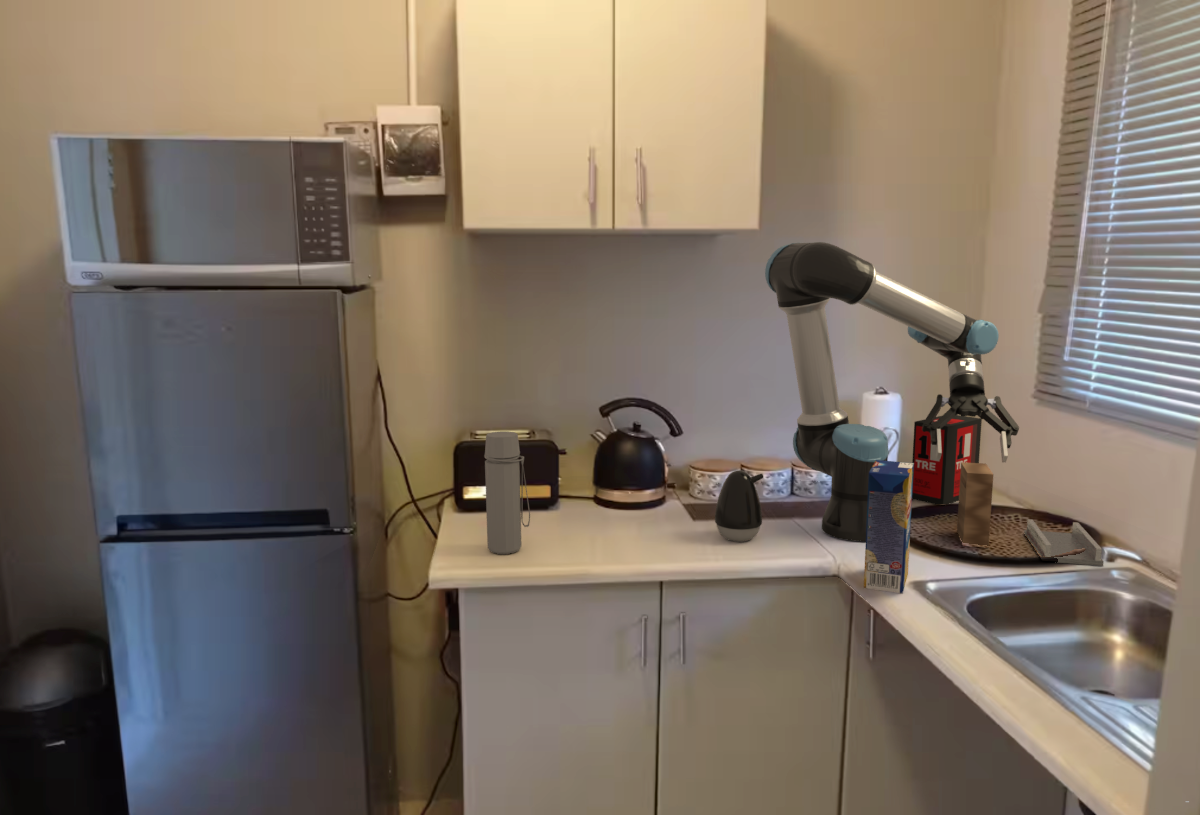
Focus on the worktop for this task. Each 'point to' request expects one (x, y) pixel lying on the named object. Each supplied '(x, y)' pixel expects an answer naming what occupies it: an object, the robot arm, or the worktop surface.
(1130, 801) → the worktop surface
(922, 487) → the cleaning product box
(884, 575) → the beverage box
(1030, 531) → the floor track
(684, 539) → the worktop surface
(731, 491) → the pump dispenser
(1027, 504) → the worktop surface
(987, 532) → the brown wooden block
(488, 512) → the water bottle
